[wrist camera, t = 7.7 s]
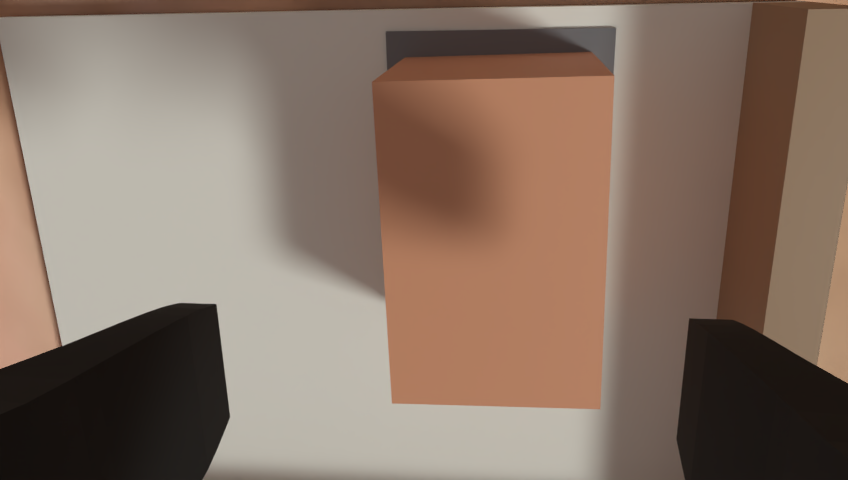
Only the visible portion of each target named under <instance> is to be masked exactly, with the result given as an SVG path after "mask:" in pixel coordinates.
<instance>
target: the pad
mask: <svg viewBox="0 0 848 480" xmlns="http://www.w3.org/2000/svg"><path fill="white" fill-rule="evenodd" d="M615 41H616V28H558V29H497V30H436V31H386V54H387V70H389V69H390V68H391V67H393V66H394V65H395V64H397V63H398V62H400V61H401V60H402V59H404V58H405V57H434V56H468V55H501V54H535V53H568V52H592V53H593V54H594V55H595V56H596V57H597V58H598V59H599V60H600V61H601V62H602V63H603V64H604V65H605V66H606V67H607V68H608V69H609V70H610V71H611V73H612V74H613V75H614V58H615Z"/></svg>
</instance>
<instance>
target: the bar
mask: <svg viewBox="0 0 848 480" xmlns="http://www.w3.org/2000/svg"><path fill="white" fill-rule="evenodd" d="M372 94H373V110H374V126H375V142H376V158H377V174H378V190H379V206H380V222H381V238H382V254H383V270H384V286H385V302H386V318H387V334H388V350H389V365H390V381H391V397H392V403H393V404H429V405H465V406H501V407H536V408H572V409H600V406H601V382H602V358H603V335H604V311H605V287H606V264H607V240H608V216H609V193H610V169H611V146H612V122H613V98H614V75H613V74H612V73H611V71H610V70H609V69H608V68H607V67H606V66H605V65H604V64H603V63H602V62H601V61H600V60H599V59H598V58H597V57H596V56H595V55H594V54H593V53H592V52H568V53H535V54H501V55H468V56H434V57H405V58H404V59H402V60H401V61H400V62H398V63H397V64H395V65H394V66H393V67H391V68H390V69H389V70H387V71H386V72H385V73H383V74H382V75H380V76H379V77H378V78H376V79H375V80H374V81H372Z"/></svg>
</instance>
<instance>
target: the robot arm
mask: <svg viewBox="0 0 848 480" xmlns="http://www.w3.org/2000/svg"><path fill="white" fill-rule="evenodd" d="M229 419H230V412H229V403H228V395H227V387H226V379H225V370H224V362H223V354H222V346H221V337H220V329H219V321H218V313H217V304H198V303H177V304H173V305H168V306H165V307H161V308H158V309H155V310H152V311H149V312H147V313H144V314H141V315H139V316H136V317H133V318H131V319H128V320H126V321H123V322H121V323H118V324H116V325H113V326H111V327H108V328H106V329H103V330H101V331H98V332H96V333H94V334H91V335H89V336H86V337H84V338H81V339H79V340H76V341H74V342H71V343H69V344H66V345H64V346H61V347H58V348H56V349H53V350H50V351H48V352H45V353H42V354H40V355H37V356H34V357H32V358H29V359H26V360H24V361H21V362H18V363H16V364H13V365H10V366H8V367H5V368H2V369H0V480H202V479H203V478H204V476H205V474H206V472H207V471H208V469H209V467H210V464H211V462H212V460H213V458H214V455H215V453H216V451H217V449H218V446H219V444H220V441H221V439H222V436H223V434H224V431H225V429H226V426H227V424H228V421H229ZM676 439H677V444H678V449H679V454H680V459H681V464H682V469H683V473H684V478H685V480H848V383H846V382H844V381H842V380H841V379H839V378H837V377H835V376H833V375H832V374H830V373H828V372H826V371H825V370H823V369H821V368H819V367H818V366H816V365H814V364H812V363H811V362H809V361H807V360H806V359H804V358H802V357H800V356H799V355H797V354H795V353H794V352H792V351H790V350H789V349H787V348H785V347H783V346H782V345H780V344H778V343H777V342H775V341H773V340H772V339H770V338H768V337H766V336H765V335H763V334H761V333H759V332H758V331H756V330H754V329H752V328H750V327H748V326H746V325H744V324H742V323H740V322H737V321H735V320H726V319H693V318H689V324H688V334H687V343H686V353H685V362H684V372H683V381H682V390H681V400H680V409H679V419H678V428H677V438H676Z"/></svg>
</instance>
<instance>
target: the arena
mask: <svg viewBox="0 0 848 480" xmlns="http://www.w3.org/2000/svg"><path fill="white" fill-rule="evenodd" d="M558 28H616V41H615V58H614V98H613V122H612V146H611V169H610V193H609V216H608V240H607V264H606V287H605V311H604V335H603V358H602V382H601V406H600V409H572V408H536V407H501V406H465V405H429V404H393V403H392V397H391V381H390V365H389V350H388V334H387V318H386V302H385V286H384V270H383V254H382V238H381V222H380V206H379V190H378V174H377V158H376V142H375V126H374V110H373V94H372V81H374V80H375V79H376V78H378V77H379V76H380V75H382V74H383V73H385V72H386V71H387V54H386V31H436V30H497V29H558ZM0 44H1V49H2V54H3V58H4V63H5V68H6V73H7V78H8V83H9V88H10V93H11V98H12V103H13V107H14V112H15V117H16V122H17V127H18V132H19V137H20V142H21V147H22V152H23V156H24V161H25V166H26V171H27V176H28V181H29V186H30V191H31V196H32V200H33V205H34V210H35V215H36V220H37V225H38V230H39V235H40V240H41V245H42V249H43V254H44V259H45V264H46V269H47V274H48V279H49V284H50V289H51V294H52V298H53V303H54V308H55V313H56V318H57V323H58V328H59V333H60V338H61V343H62V346H64V345H66V344H69V343H71V342H74V341H76V340H79V339H81V338H84V337H86V336H89V335H91V334H94V333H96V332H98V331H101V330H103V329H106V328H108V327H111V326H113V325H116V324H118V323H121V322H123V321H126V320H128V319H131V318H133V317H136V316H139V315H141V314H144V313H147V312H149V311H152V310H155V309H158V308H161V307H165V306H168V305H173V304H177V303H198V304H217V313H218V321H219V329H220V337H221V346H222V354H223V362H224V370H225V379H226V387H227V395H228V403H229V412H230V419H229V421H228V424H227V426H226V429H225V431H224V434H223V436H222V439H221V441H220V444H219V446H218V449H217V451H216V453H215V455H214V458H213V460H212V462H211V464H210V467H209V469H208V471H207V472H206V474H205V476H204V478H203V479H202V480H685V478H684V473H683V469H682V464H681V459H680V454H679V449H678V444H677V439H676V438H677V428H678V419H679V409H680V400H681V390H682V381H683V372H684V362H685V353H686V343H687V334H688V324H689V318H693V319H726V320H735V321H737V322H740V323H742V324H744V325H746V326H748V327H750V328H752V329H754V330H756V331H758V332H759V333H761V334H763V335H765V336H766V337H768V338H770V339H772V340H773V341H775V342H777V343H778V344H780V345H782V346H783V347H785V348H787V349H789V350H790V351H792V352H794V353H795V354H797V355H799V356H800V357H802V358H804V359H806V360H807V361H809V362H811V363H812V364H814V365H816V366H817V361H818V355H819V349H820V343H821V338H822V332H823V326H824V320H825V314H826V308H827V302H828V296H829V290H830V284H831V278H832V272H833V266H834V260H835V255H836V249H837V243H838V237H839V231H840V225H841V219H842V213H843V207H844V201H845V195H846V189H847V183H848V5H838V4H828V3H817V2H806V1H763V2H713V3H663V4H612V5H562V6H512V7H462V8H411V9H361V10H311V11H260V12H210V13H160V14H110V15H59V16H10V17H0Z"/></svg>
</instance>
